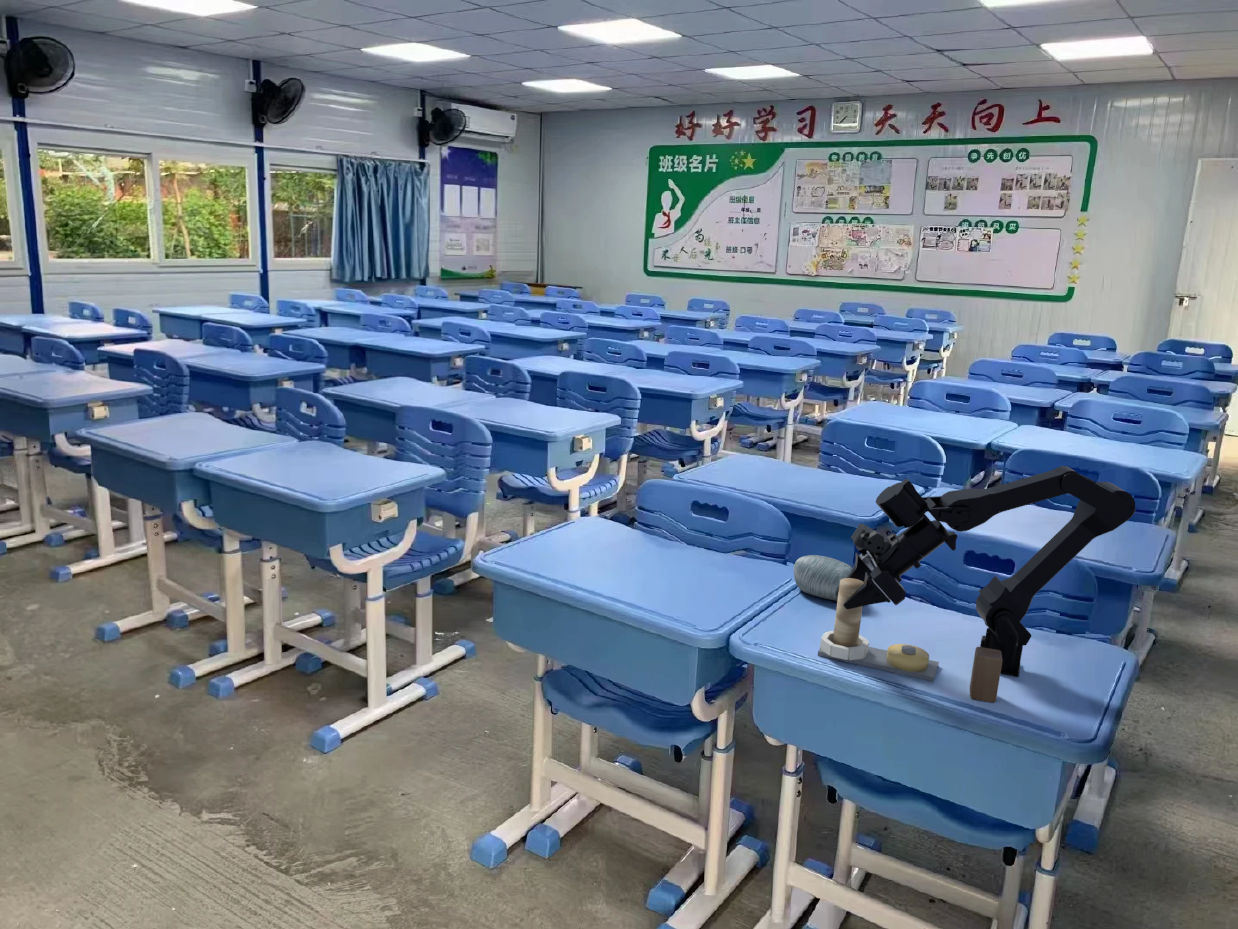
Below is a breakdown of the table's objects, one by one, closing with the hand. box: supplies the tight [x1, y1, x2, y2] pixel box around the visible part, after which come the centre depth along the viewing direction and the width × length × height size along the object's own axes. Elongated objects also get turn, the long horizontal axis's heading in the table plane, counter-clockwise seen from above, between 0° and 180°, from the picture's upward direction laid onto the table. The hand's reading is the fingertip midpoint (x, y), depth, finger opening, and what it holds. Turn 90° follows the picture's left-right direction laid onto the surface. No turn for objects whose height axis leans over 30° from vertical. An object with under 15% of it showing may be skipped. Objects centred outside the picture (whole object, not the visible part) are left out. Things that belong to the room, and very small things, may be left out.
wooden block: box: [969, 646, 1002, 704], centre depth 157 cm, size 4×4×8 cm
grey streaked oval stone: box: [793, 554, 853, 602], centre depth 199 cm, size 14×10×10 cm
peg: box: [832, 578, 864, 647], centre depth 169 cm, size 4×4×13 cm
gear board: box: [817, 630, 940, 682], centre depth 168 cm, size 20×8×4 cm, turn 65°
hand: (841, 599), depth 169 cm, fingers open, 7 cm apart
